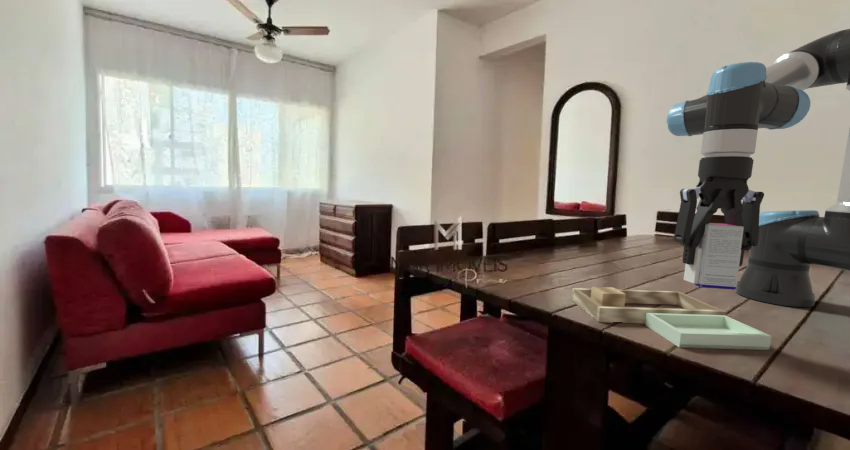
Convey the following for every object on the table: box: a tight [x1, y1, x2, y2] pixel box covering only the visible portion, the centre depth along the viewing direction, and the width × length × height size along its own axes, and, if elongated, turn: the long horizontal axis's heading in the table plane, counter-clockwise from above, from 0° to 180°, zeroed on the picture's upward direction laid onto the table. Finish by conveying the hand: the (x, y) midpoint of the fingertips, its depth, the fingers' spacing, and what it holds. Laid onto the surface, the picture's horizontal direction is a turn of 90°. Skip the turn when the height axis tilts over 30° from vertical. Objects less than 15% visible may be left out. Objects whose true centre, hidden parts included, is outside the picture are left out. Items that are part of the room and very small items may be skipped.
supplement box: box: [692, 222, 744, 291], centre depth 68 cm, size 6×6×12 cm
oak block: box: [590, 286, 626, 307], centre depth 82 cm, size 5×5×5 cm
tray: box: [644, 313, 772, 351], centre depth 70 cm, size 16×10×3 cm, turn 90°
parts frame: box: [571, 287, 727, 324], centre depth 83 cm, size 26×14×3 cm, turn 90°
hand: (709, 282), depth 69 cm, fingers closed on supplement box, 6 cm apart
